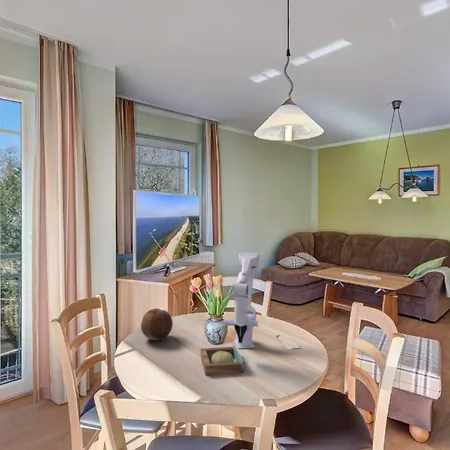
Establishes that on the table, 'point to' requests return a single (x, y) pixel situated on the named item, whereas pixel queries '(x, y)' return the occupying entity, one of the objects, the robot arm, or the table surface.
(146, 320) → the wooden sphere
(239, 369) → the bay
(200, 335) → the table surface
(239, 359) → the teal plank
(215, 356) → the sea urchin shell
